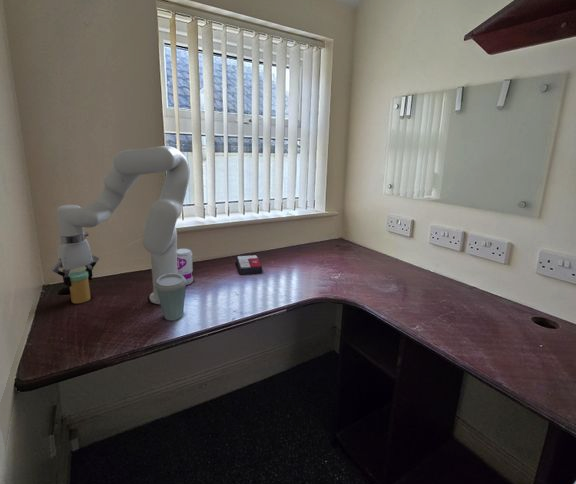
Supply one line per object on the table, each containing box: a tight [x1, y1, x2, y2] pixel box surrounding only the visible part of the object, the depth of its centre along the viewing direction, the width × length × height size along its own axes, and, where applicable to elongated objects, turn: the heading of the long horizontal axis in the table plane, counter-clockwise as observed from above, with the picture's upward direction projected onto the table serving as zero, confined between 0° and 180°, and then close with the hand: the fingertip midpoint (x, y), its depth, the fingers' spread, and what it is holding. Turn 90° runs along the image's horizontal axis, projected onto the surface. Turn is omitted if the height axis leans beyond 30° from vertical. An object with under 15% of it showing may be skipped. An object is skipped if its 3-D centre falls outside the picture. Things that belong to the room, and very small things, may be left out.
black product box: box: [236, 254, 263, 275], centre depth 162 cm, size 11×4×15 cm
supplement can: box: [177, 247, 194, 286], centre depth 141 cm, size 8×8×15 cm
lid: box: [68, 269, 89, 281], centre depth 122 cm, size 7×7×2 cm
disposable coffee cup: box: [155, 273, 187, 321], centre depth 114 cm, size 11×11×15 cm
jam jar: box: [68, 278, 92, 304], centre depth 123 cm, size 6×6×10 cm
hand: (78, 282), depth 122 cm, fingers closed on lid, 6 cm apart
